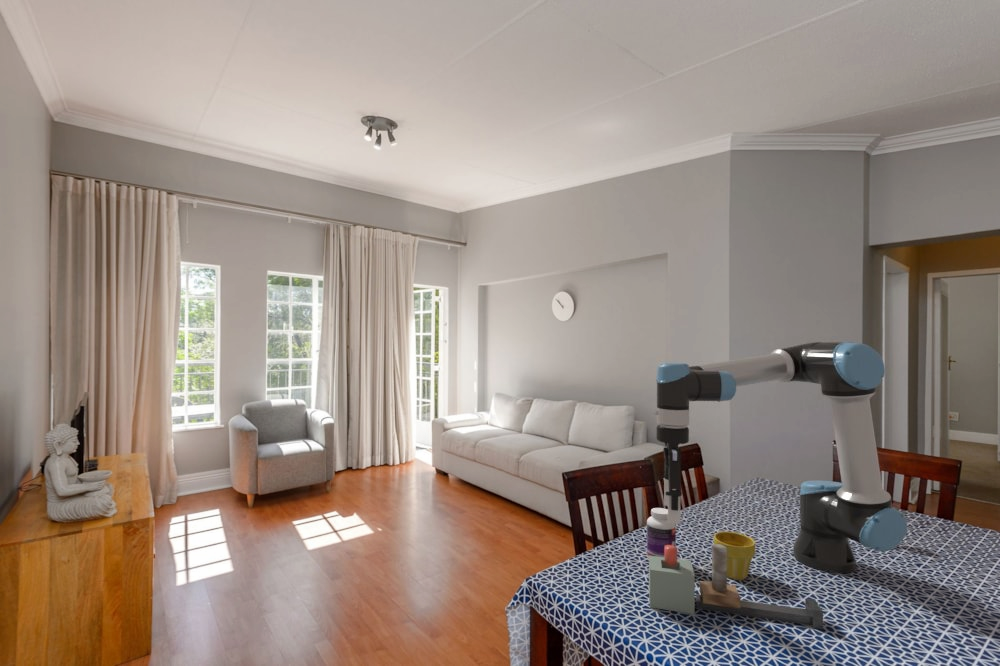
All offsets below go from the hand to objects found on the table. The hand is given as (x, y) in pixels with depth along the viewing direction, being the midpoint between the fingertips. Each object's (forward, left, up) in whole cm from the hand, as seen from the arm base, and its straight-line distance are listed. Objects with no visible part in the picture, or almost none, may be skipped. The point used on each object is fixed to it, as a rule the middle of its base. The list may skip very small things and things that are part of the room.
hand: (671, 514), depth 119 cm
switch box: (0, 0, -22) cm, 22 cm away
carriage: (-11, 0, -19) cm, 22 cm away
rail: (-18, 0, -22) cm, 28 cm away
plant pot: (-18, -20, -22) cm, 35 cm away
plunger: (0, 0, -12) cm, 12 cm away
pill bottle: (+1, -23, -22) cm, 32 cm away
